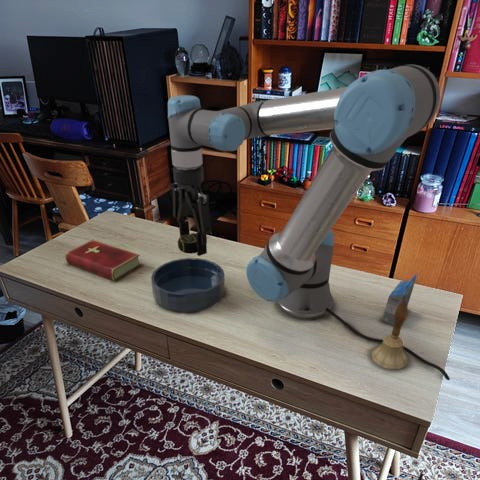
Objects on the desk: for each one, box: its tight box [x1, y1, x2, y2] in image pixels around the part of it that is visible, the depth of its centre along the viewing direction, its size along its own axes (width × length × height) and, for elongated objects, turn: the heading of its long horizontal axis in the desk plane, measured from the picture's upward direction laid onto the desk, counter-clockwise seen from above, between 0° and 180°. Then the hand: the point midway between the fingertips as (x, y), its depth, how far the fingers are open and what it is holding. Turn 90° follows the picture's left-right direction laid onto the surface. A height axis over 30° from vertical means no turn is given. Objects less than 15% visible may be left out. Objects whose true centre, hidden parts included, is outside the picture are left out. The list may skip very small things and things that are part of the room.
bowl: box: [150, 257, 226, 313], centre depth 127 cm, size 21×21×6 cm
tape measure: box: [177, 232, 197, 255], centre depth 122 cm, size 7×7×4 cm
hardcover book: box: [64, 239, 142, 282], centre depth 142 cm, size 12×21×4 cm, turn 58°
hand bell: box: [371, 301, 409, 371], centre depth 100 cm, size 8×8×16 cm
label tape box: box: [382, 271, 418, 326], centre depth 116 cm, size 9×4×12 cm, turn 145°
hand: (193, 248), depth 123 cm, fingers closed on tape measure, 7 cm apart
